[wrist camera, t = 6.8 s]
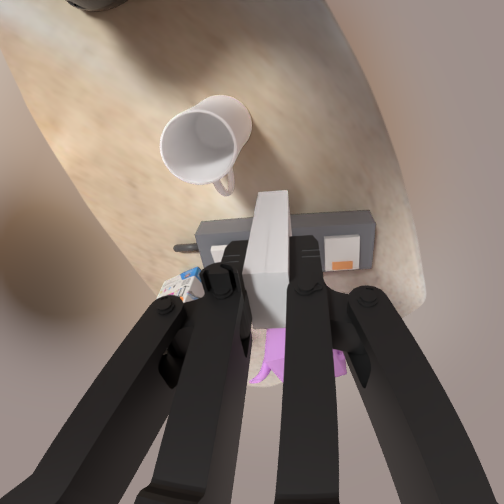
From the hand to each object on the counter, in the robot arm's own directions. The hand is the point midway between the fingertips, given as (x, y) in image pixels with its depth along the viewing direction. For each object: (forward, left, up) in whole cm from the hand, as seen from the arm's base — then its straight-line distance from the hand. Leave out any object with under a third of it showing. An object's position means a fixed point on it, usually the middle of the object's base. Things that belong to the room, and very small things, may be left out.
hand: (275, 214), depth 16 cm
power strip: (+18, -4, -26) cm, 32 cm away
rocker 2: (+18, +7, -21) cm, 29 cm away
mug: (+1, -8, -27) cm, 28 cm away
